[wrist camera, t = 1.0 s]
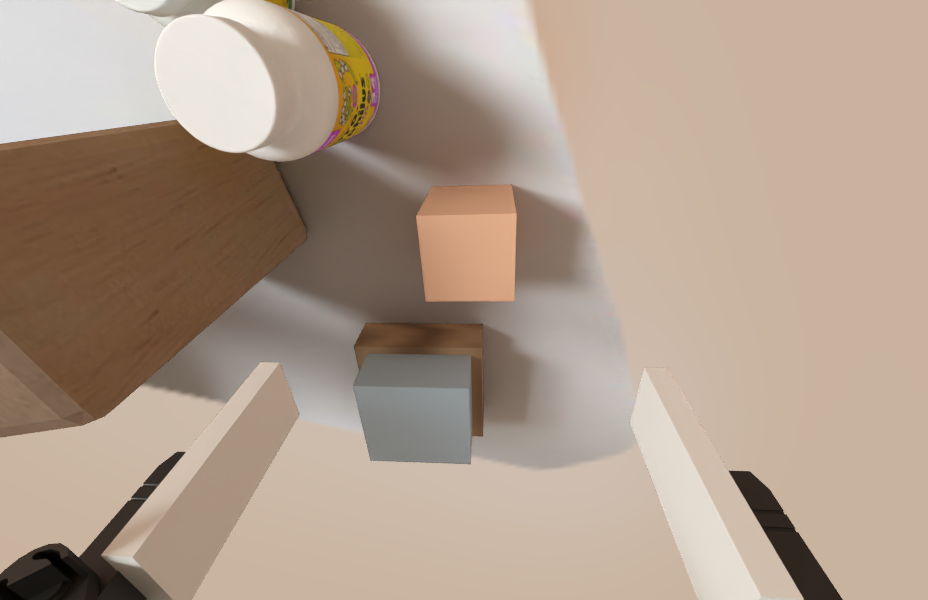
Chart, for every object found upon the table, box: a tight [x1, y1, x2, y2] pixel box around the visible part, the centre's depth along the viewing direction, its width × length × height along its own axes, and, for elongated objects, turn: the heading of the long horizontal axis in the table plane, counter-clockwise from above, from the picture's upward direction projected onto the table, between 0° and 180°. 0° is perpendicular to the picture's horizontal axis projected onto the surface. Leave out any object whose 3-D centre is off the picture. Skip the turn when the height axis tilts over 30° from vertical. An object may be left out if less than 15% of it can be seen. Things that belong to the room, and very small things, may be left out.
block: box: [0, 120, 307, 437], centre depth 21 cm, size 10×10×20 cm
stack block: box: [416, 184, 517, 302], centre depth 27 cm, size 6×6×7 cm
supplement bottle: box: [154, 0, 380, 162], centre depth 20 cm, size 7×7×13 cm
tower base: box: [354, 323, 484, 436], centre depth 36 cm, size 11×11×4 cm
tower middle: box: [353, 354, 472, 464], centre depth 33 cm, size 9×9×4 cm
